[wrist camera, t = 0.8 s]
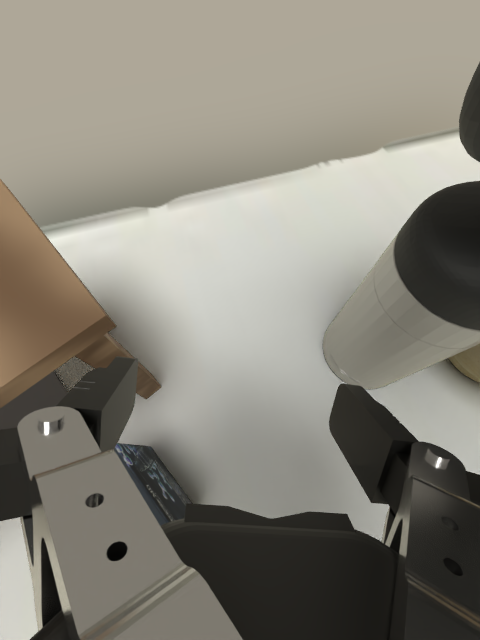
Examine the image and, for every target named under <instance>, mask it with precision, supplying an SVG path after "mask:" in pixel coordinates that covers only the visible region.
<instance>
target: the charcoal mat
mask: <svg viewBox="0 0 480 640" xmlns="http://www.w3.org/2000/svg"><path fill="white" fill-rule="evenodd" d="M67 394H68V393H67V391H66V390H65V388H64V387H63V385H62V383H61V382H60V380H59V379H58V377H57V376H56V374H55V373H54V371H53V372H51V373H50V374H48V375H47V376H46V377H44V378H43V379H41V380H40V381H38V382H37V383H36V384H34V385H33V386H31V387H30V388H29V389H27V390H26V391H24V392H23V393H21V394H20V395H19V396H17V397H16V398H14V399H13V400H12V401H10V402H9V403H7V404H6V405H4V406H3V407H2V408H0V430H1V429H10V428H16V427H18V424H19V422H20V421H21V420H22V419H23V418H24V417H25V416H27V415H28V414H30V413H32V412H34V411H37V410H40V409H43V408H48V407H55V406H56V405H57V404H58V403H59V402H60V401H61V400H62V399H63V398H64V397H65V396H66V395H67Z"/></svg>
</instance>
